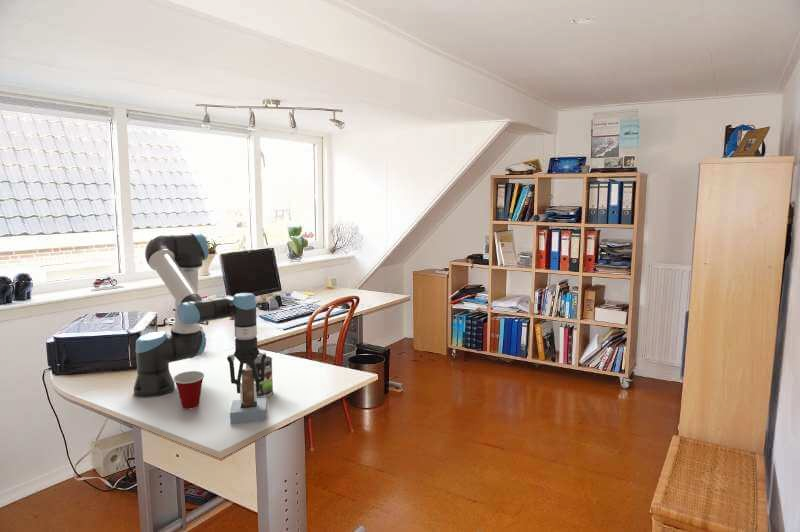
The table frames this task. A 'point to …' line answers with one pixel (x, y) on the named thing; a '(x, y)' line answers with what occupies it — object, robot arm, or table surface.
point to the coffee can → (267, 384)
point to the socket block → (248, 412)
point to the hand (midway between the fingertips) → (248, 400)
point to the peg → (248, 388)
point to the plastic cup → (189, 388)
